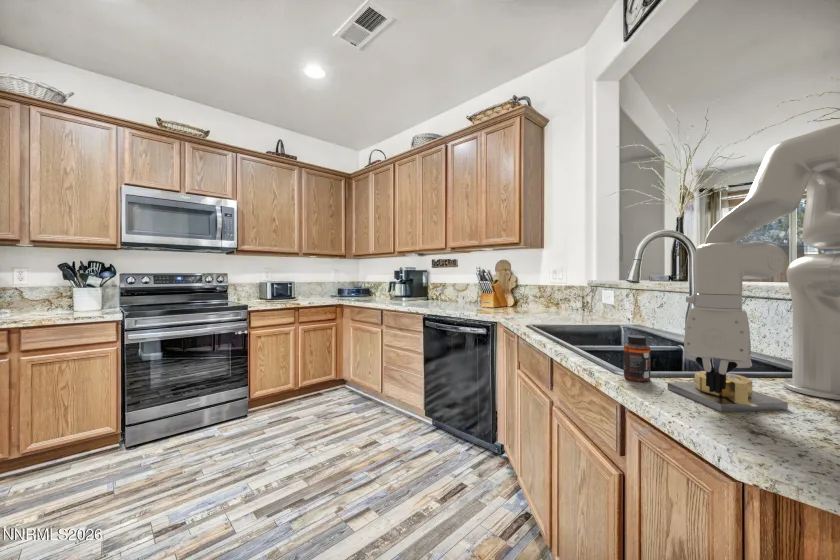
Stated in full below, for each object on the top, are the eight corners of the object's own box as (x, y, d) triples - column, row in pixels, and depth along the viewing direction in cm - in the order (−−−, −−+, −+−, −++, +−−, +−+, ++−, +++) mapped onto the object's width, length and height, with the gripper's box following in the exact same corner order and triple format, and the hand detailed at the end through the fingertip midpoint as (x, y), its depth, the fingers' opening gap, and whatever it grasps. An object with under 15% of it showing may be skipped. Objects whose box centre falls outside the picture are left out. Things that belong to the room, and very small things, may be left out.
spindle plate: (723, 387, 84) (723, 365, 84) (796, 412, 68) (796, 386, 68) (667, 388, 83) (667, 367, 83) (727, 414, 68) (727, 388, 67)
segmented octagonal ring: (690, 382, 82) (690, 365, 82) (738, 386, 79) (738, 368, 79) (713, 401, 70) (713, 381, 70) (771, 406, 67) (771, 386, 67)
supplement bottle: (654, 383, 87) (654, 338, 87) (628, 382, 89) (628, 337, 88) (644, 376, 93) (644, 334, 93) (620, 375, 94) (620, 334, 94)
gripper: (669, 301, 75) (667, 386, 75) (766, 306, 64) (764, 405, 64) (678, 300, 80) (676, 379, 80) (770, 304, 69) (768, 397, 69)
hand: (715, 391), depth 72 cm, fingers closed
